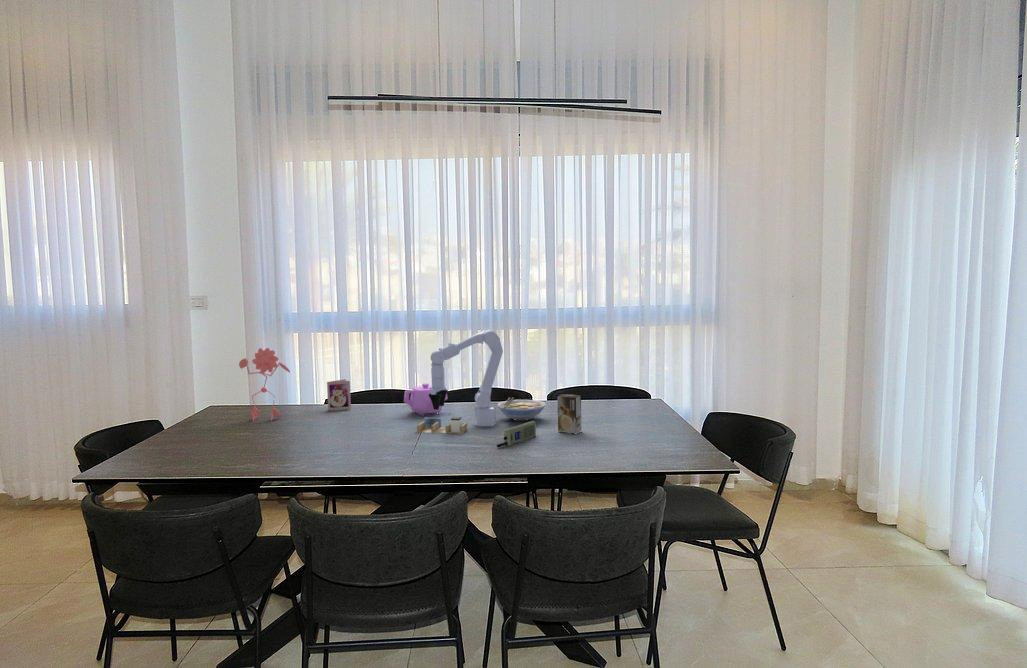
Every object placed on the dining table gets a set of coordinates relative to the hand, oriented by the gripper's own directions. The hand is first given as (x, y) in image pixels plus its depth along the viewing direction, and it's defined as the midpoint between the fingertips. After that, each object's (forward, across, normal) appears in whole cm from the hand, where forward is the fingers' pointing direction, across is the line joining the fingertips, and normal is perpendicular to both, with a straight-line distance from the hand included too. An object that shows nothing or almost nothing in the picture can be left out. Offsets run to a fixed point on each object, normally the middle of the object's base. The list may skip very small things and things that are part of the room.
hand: (438, 407), depth 289 cm
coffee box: (+10, -2, +59) cm, 60 cm away
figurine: (+9, -9, -91) cm, 92 cm away
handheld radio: (+10, +18, +39) cm, 44 cm away
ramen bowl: (+10, -24, +33) cm, 42 cm away
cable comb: (+10, +6, +4) cm, 12 cm away
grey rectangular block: (+9, +7, +10) cm, 15 cm away
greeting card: (+10, -36, -66) cm, 76 cm away
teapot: (+10, -31, -17) cm, 37 cm away
